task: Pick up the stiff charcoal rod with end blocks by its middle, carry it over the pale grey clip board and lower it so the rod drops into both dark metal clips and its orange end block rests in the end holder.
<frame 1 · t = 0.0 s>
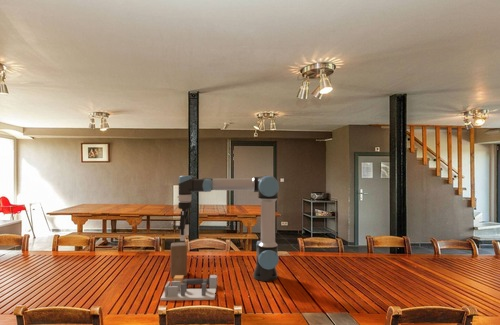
hand: (184, 238, 181), 28 cm above the table, fingers open, 13 cm apart
clip board: (189, 295, 167), on the table
rod with end blocks: (195, 287, 179), on the table
wooden block: (178, 275, 199), on the table
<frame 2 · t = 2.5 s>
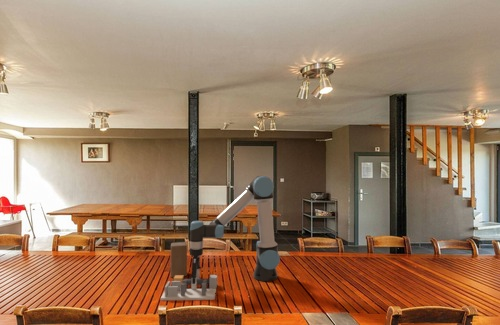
hand: (195, 284, 179), 1 cm above the table, fingers open, 13 cm apart
nothing on the table moved.
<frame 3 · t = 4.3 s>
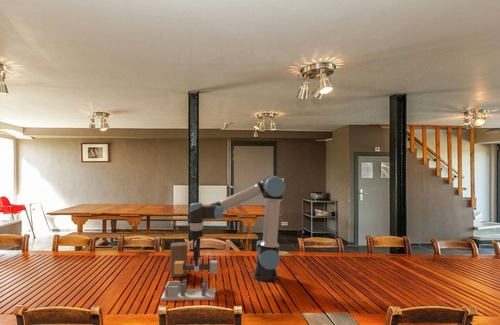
hand: (197, 270, 179), 10 cm above the table, fingers closed on rod with end blocks, 3 cm apart
rod with end blocks: (196, 272, 179), point 8 cm above the table, touching gripper
everything else where it was.
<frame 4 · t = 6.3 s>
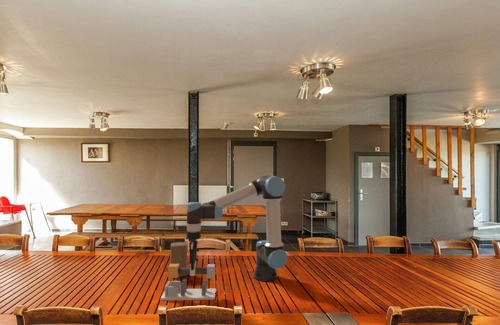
hand: (193, 274, 167), 11 cm above the table, fingers closed on rod with end blocks, 3 cm apart
rod with end blocks: (192, 276, 167), point 10 cm above the table, touching gripper
everything else where it was.
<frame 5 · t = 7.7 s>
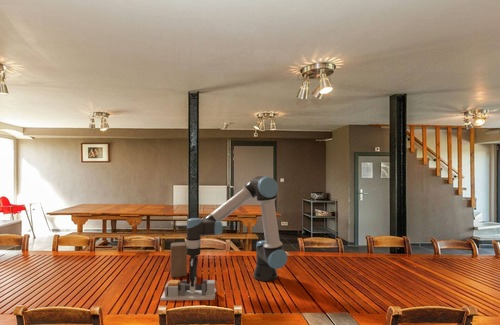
hand: (193, 290, 167), 3 cm above the table, fingers closed on rod with end blocks, 3 cm apart
rod with end blocks: (192, 292, 167), point 1 cm above the table, touching clip board, gripper
everything else where it was.
when the fingers open (2 cm above the table, at t = 8.4 s): rod with end blocks stays where it is, resting on clip board.
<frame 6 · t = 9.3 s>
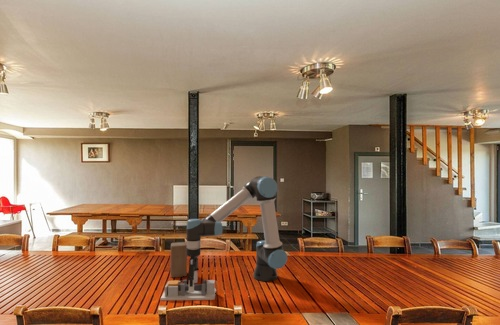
hand: (193, 287, 167), 4 cm above the table, fingers open, 13 cm apart
rod with end blocks: (192, 293, 167), point 1 cm above the table, touching clip board
everything else where it was.
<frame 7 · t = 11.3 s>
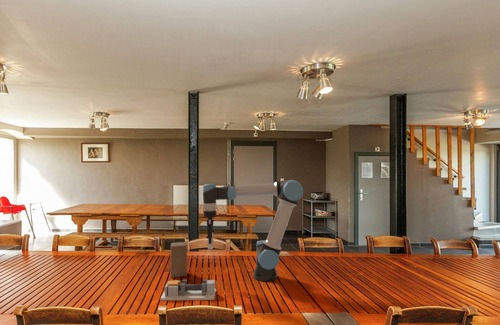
hand: (210, 246, 181), 23 cm above the table, fingers open, 13 cm apart
nothing on the table moved.
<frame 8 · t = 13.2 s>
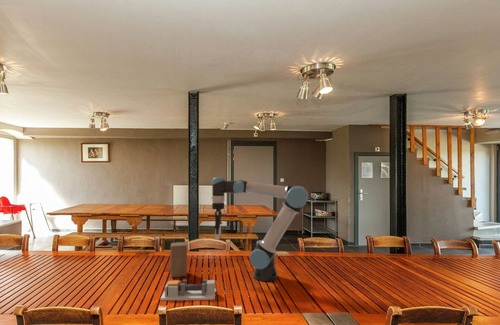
hand: (218, 236, 190), 27 cm above the table, fingers open, 13 cm apart
nothing on the table moved.
at the end: rod with end blocks 0.5 cm from the target spot on the clip board, point 1.2 cm above the clip board's base; rod with end blocks tilted 0°; the gripper is holding nothing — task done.
